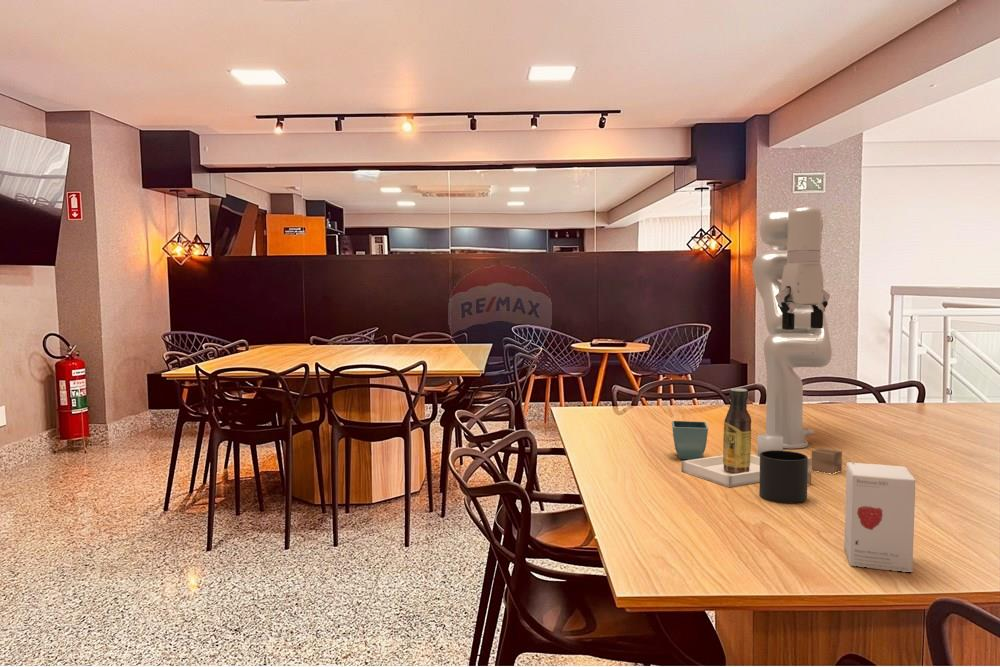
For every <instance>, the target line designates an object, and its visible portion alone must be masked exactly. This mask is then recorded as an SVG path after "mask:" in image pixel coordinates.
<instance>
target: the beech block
mask: <svg viewBox="0 0 1000 667" xmlns="http://www.w3.org/2000/svg"><path fill="white" fill-rule="evenodd" d="M807 457H808V476H807V484H811V485H812V457H809V456H807Z"/></svg>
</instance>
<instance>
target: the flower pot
mask: <svg viewBox="0 0 1000 667" xmlns="http://www.w3.org/2000/svg"><path fill="white" fill-rule="evenodd" d="M671 425H672V426H671V427H672V435H673V436H672V437H673V443H674V444H673V445H674V449H675V451H676V455H677V456H678V458H679V459H681V460H693V459H700V458H703V457H702V456H704V453H705V451H706V447H707V441H708V433H709V427H708V424H707V422H706V421H689V420H684V421H683V420H671Z"/></svg>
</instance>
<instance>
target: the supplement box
mask: <svg viewBox="0 0 1000 667" xmlns="http://www.w3.org/2000/svg"><path fill="white" fill-rule="evenodd" d="M845 476H846V480H845V481H846V484H845V486H846V487H845V508H844V509H845V514H844V515H845V516H844V540H843V541H844V544H843V547H844V550H845V553H846V554H845V555H846V556H847V560H848V563H849V565H850V567H856V566H858V567H857V568H859V567H860V568H864V567H867V568H868V569H873V570H874V569H875V570H883V571H889V570H892V571H891V572H897V571H902V572H901V573H905V572H913V570H914V568H913V566H914V563H913V562H914V536H915V510H916V509H915V507H916V506H915V505H916V504H915V503H916V479H915V477H914V476H913V475H912V473H911V472H910V471H909V470H908V468H907V467H906V466H903V465H902V466H901V465H889V464H877V463H876V464H875V463H863V462H862V463H861V462H850V461H849V462H846V475H845ZM867 568H866V569H867Z"/></svg>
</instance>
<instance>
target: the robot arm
mask: <svg viewBox="0 0 1000 667" xmlns="http://www.w3.org/2000/svg"><path fill="white" fill-rule="evenodd" d="M823 227H824V219H823V217H822V211H821V209H819V208H817V207H813V206H812V207H811V206H805V207H803V206H802V207H795V208H793V209H790V210H779V211H778V210H776V211H769V212H766V213H765V214H764V215H763V216H762V217H761V220H760V224H759V235H760V238H761V241H762V243H764V244H766V245H768V246H769V247H770V249H771V248H772V250H775V251H768V252H764V253H760V254H758V255H757V256H755V257H754V259H753V263H752V276H753V281H754V284H755V287H756V289H757V291H758V293H759V295H760V297H761V299H762V301H763V308H764V309H763V310H764V316H765V326H766V329H767V331H768V333H769V334H770V335H769V336H767V337H766V338H765V340H764V342H763V353H764V354H763V356H764V361H765V371H766V372H765V374H766V406H765V407H766V410H765V411H766V412H765V413H766V414H765V416H766V417H765V424H766V425H765V426H766V427H765V429H766V430H765V434H777V435H781V436H783V449H791V450H792V449H803V448H807V447H808V446H809V441H808V440H806V439H805V438H806V436H807V437H809V436H813V435H814V430H813V429H812V428H804V427H803V412H804V411H803V406H804V402H803V401H804V400H803V398H804V395H803V394H804V386H803V385H804V384H803V381H802V379H801V377H800V376H799V375H798V374H797V373H796V372H795V371H794V369H795V368H824V367H827V366H828V365H829V364H830V362H831V361H832V354H833V353H832V350H833V349H832V344H831V338H830V333H829V328H828V323H827V318H826V314H825V312H826V308H827V306H828V305H829V300H830V298H831V295H830V293H829V292H828V291H826V290H824V276H823V269H822V267H823V266H822V264H821V259H822V256H821V249H822V248H821V246H822V241H823V234H822V233H823V229H824V228H823ZM779 280H781V281H779Z"/></svg>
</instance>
